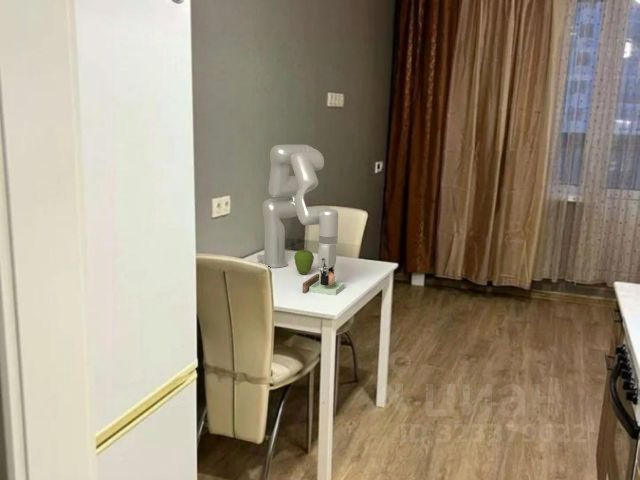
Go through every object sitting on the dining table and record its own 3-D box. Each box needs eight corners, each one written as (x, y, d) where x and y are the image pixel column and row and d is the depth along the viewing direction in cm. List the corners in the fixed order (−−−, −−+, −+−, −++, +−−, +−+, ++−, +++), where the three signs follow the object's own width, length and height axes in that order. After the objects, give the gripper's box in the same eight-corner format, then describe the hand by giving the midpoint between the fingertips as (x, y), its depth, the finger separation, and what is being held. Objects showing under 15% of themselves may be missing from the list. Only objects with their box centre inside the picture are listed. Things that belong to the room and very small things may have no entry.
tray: (309, 291, 243) (309, 287, 243) (319, 284, 254) (319, 280, 253) (335, 295, 240) (335, 290, 239) (344, 288, 250) (344, 283, 249)
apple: (295, 276, 265) (295, 251, 263) (293, 272, 274) (293, 247, 271) (314, 276, 267) (315, 251, 264) (312, 271, 275) (312, 246, 273)
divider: (302, 293, 242) (302, 283, 241) (316, 283, 257) (316, 273, 256) (305, 293, 241) (305, 283, 241) (319, 283, 256) (319, 274, 255)
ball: (317, 286, 245) (318, 271, 243) (322, 282, 250) (323, 268, 249) (331, 287, 242) (332, 273, 241) (336, 284, 248) (336, 270, 247)
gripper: (326, 235, 252) (325, 276, 255) (311, 243, 236) (310, 287, 239) (343, 236, 249) (342, 278, 253) (329, 244, 233) (328, 289, 237)
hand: (327, 282), depth 246 cm, fingers closed on ball, 6 cm apart
